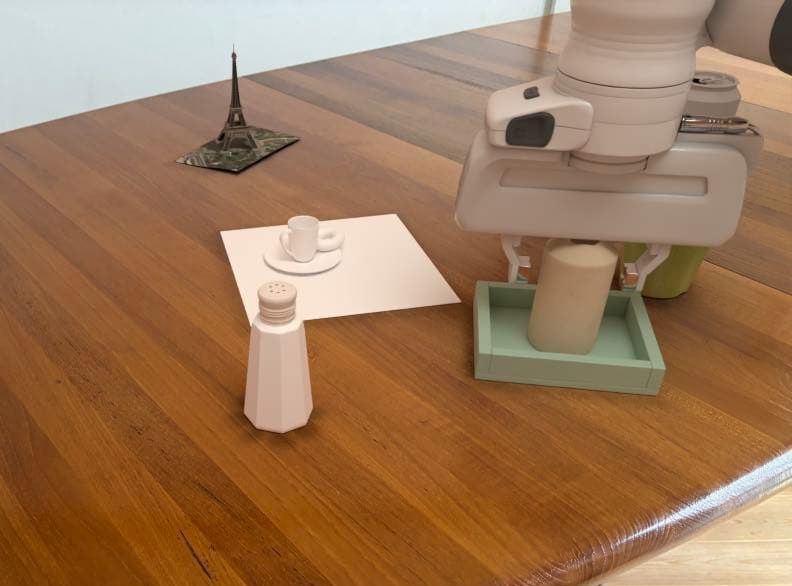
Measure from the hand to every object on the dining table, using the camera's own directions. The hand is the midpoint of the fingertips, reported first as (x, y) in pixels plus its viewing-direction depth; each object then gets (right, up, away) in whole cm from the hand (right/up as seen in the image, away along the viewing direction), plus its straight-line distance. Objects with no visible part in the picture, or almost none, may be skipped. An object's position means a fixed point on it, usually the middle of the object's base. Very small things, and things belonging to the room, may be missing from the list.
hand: (572, 284), depth 67 cm
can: (+25, +17, +31) cm, 43 cm away
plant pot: (+12, +2, +12) cm, 17 cm away
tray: (0, -5, +4) cm, 6 cm away
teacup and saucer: (-18, +4, +17) cm, 25 cm away
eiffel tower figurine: (-28, +24, +43) cm, 56 cm away
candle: (0, -4, +3) cm, 6 cm away
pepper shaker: (-24, -11, -2) cm, 26 cm away
